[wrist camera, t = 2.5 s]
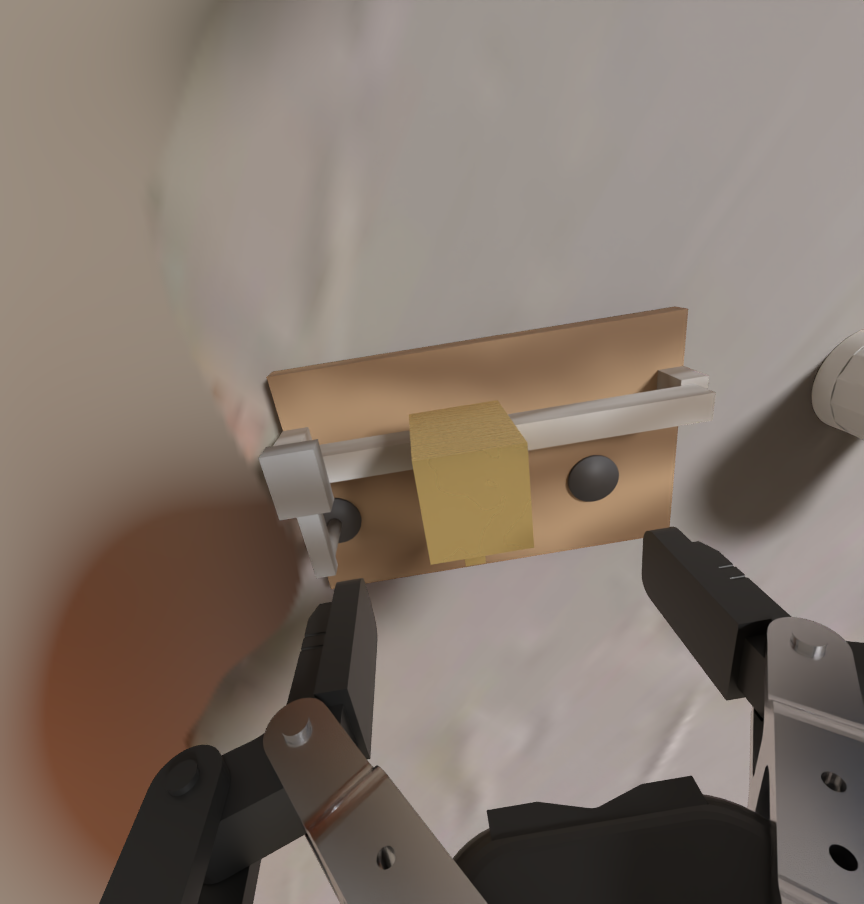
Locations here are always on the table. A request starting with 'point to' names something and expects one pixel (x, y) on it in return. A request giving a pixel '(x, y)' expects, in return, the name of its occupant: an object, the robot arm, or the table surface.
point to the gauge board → (532, 411)
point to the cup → (842, 387)
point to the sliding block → (471, 482)
